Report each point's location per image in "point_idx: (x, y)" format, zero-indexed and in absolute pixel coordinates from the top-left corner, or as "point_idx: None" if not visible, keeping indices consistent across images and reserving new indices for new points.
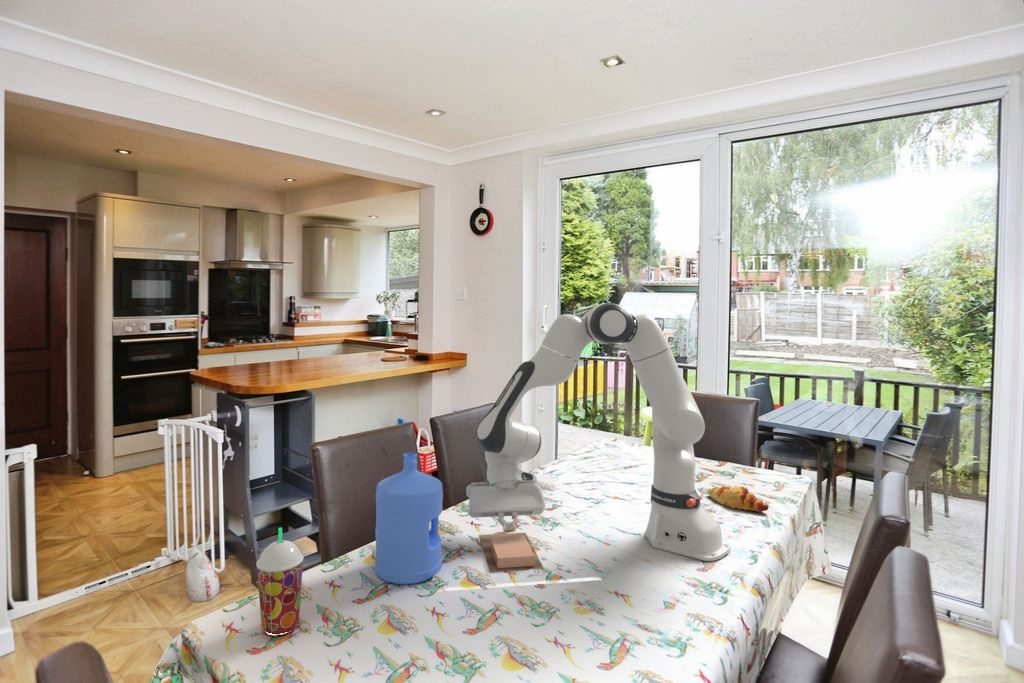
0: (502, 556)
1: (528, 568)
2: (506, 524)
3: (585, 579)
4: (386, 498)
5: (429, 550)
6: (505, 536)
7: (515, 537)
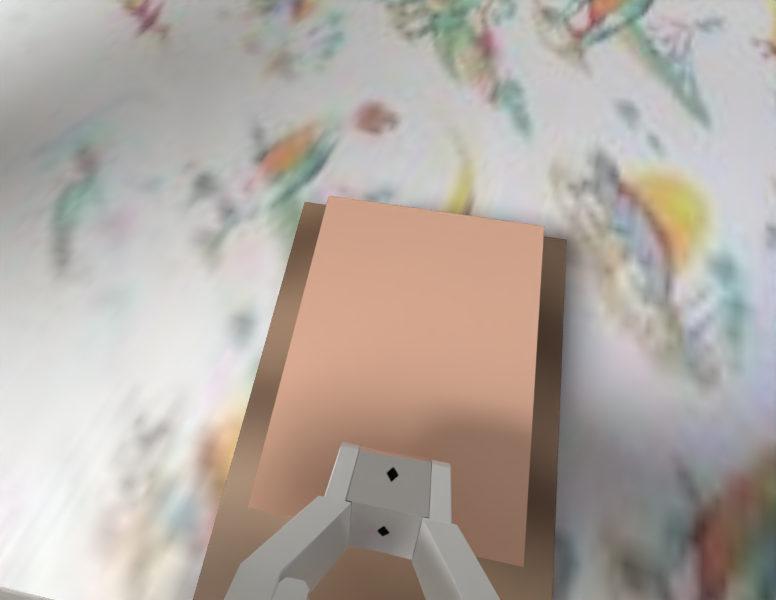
0: (512, 238)
1: None
2: (422, 499)
3: (184, 115)
4: None
5: None
6: None
7: None
